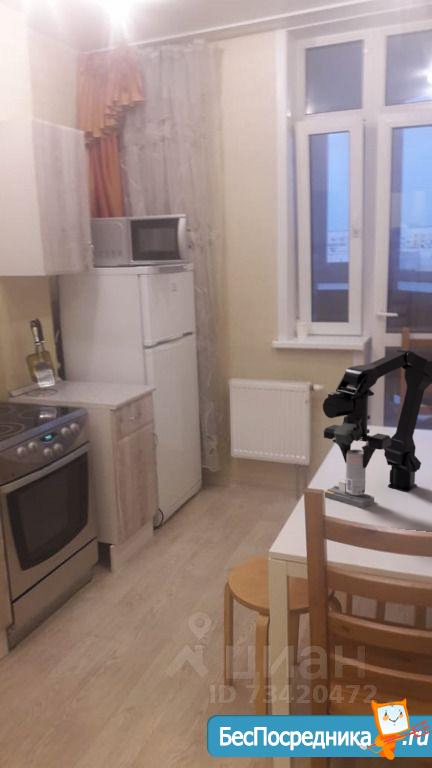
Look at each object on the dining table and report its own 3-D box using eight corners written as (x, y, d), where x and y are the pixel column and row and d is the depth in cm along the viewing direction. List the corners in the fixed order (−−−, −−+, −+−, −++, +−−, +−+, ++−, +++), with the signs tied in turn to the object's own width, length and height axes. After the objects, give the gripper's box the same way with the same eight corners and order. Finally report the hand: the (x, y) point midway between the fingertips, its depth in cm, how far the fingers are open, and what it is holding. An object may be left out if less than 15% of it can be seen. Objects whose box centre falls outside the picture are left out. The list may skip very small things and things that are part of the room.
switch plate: (374, 501, 175) (374, 494, 174) (363, 508, 171) (363, 501, 170) (335, 490, 184) (335, 484, 183) (324, 496, 179) (324, 489, 179)
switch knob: (349, 492, 178) (349, 481, 177) (344, 494, 176) (345, 483, 176) (343, 490, 179) (343, 479, 179) (338, 492, 178) (338, 481, 177)
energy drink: (362, 488, 178) (362, 448, 175) (367, 495, 172) (368, 454, 170) (343, 489, 178) (344, 449, 175) (348, 496, 172) (349, 455, 170)
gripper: (312, 413, 171) (312, 466, 174) (372, 424, 158) (370, 481, 162) (334, 405, 179) (333, 456, 182) (393, 415, 166) (391, 470, 169)
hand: (355, 465), depth 174 cm, fingers closed on energy drink, 5 cm apart
